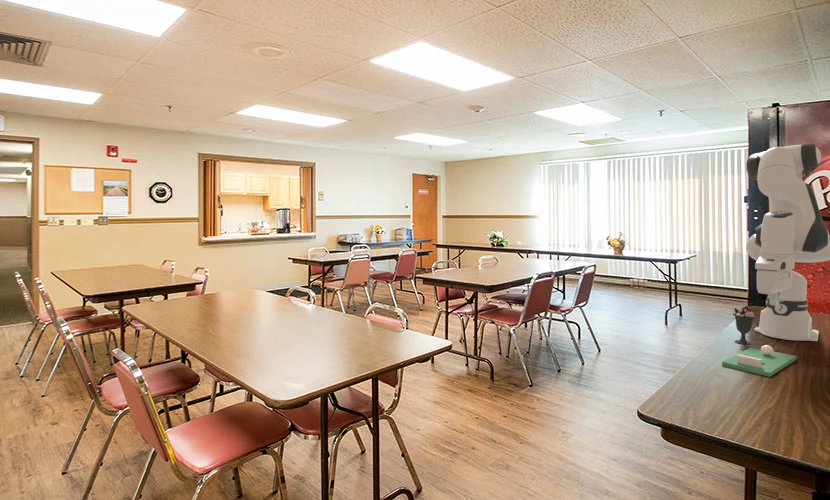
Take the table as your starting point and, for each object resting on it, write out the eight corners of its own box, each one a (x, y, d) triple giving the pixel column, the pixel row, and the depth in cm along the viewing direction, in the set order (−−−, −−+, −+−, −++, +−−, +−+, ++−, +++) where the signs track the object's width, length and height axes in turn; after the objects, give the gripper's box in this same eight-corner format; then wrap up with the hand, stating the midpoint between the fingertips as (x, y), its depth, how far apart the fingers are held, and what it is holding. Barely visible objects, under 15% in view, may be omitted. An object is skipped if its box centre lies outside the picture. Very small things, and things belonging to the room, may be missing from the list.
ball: (762, 352, 145) (763, 343, 144) (774, 355, 142) (775, 345, 142) (758, 354, 143) (759, 345, 143) (771, 357, 140) (771, 347, 140)
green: (751, 350, 151) (751, 340, 151) (796, 359, 141) (797, 348, 141) (722, 365, 137) (722, 354, 137) (769, 376, 127) (770, 364, 127)
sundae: (758, 345, 156) (760, 303, 154) (737, 345, 157) (739, 303, 156) (748, 340, 162) (750, 300, 161) (728, 339, 163) (730, 299, 162)
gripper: (775, 259, 151) (773, 299, 152) (752, 264, 139) (750, 307, 140) (799, 260, 146) (797, 302, 147) (777, 265, 134) (775, 310, 135)
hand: (774, 304), depth 144 cm, fingers closed
